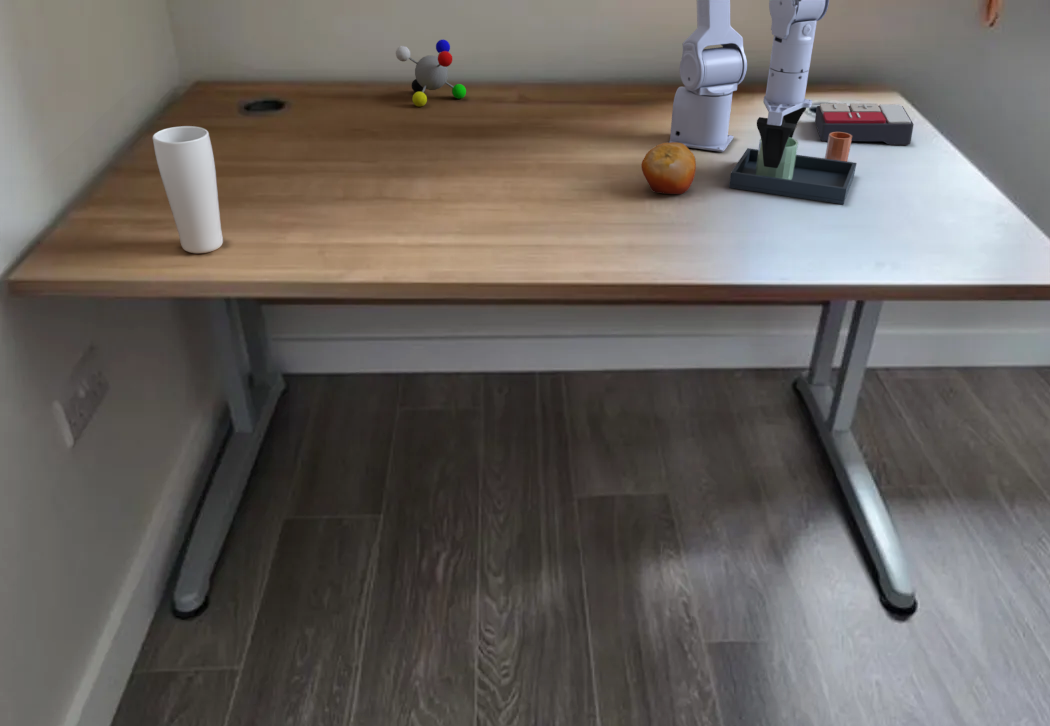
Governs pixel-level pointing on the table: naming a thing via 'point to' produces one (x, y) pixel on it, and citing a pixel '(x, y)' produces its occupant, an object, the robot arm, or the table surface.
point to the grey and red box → (865, 122)
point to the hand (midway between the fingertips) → (775, 158)
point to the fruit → (669, 168)
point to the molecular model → (431, 72)
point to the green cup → (786, 163)
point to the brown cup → (838, 146)
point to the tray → (798, 178)
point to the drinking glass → (190, 185)
